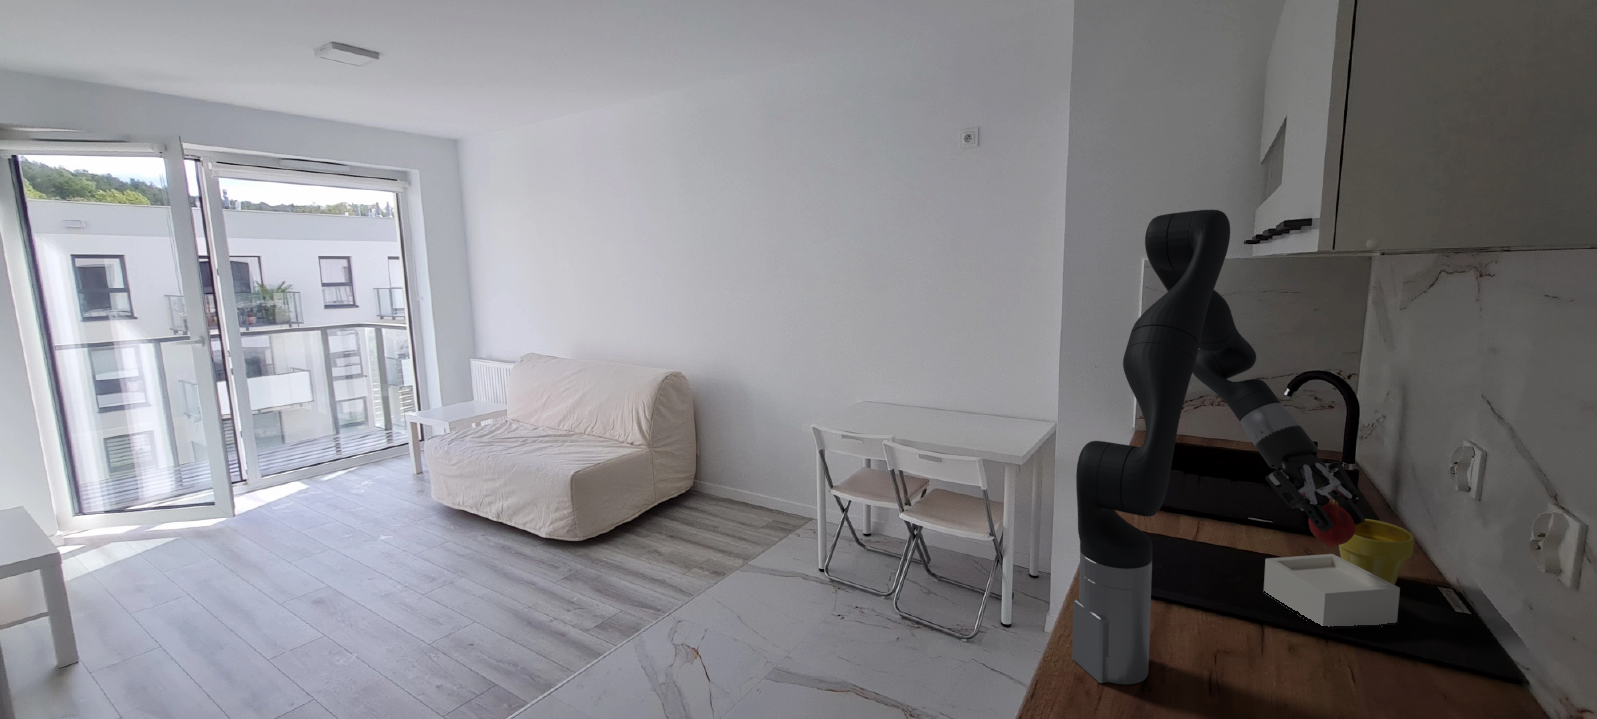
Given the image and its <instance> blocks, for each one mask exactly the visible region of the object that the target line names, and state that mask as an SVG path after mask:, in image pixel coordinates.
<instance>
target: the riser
mask: <svg viewBox="0 0 1597 719" xmlns="http://www.w3.org/2000/svg"><path fill="white" fill-rule="evenodd" d="M1264 563H1265V564H1264V581H1263V592H1264V591H1265V592H1266V593H1268V594H1269V595H1271V596H1272V597H1274V598H1275V599H1277V600H1279V601H1280V602H1282V603H1284V604H1285V605H1287V606H1288V607H1290V608H1292V609H1293V610H1295V611H1298V612H1299V613H1300V614H1301V615H1304V616H1305V617H1307V618H1308V619H1311V620H1312V621H1314V622H1315V623H1318V624H1320V625H1321V626H1328V627H1330V626H1332V627H1333V626H1354V625H1356V626H1357V625H1379V624H1380V625H1381V624H1387V623H1396V622H1397V623H1398V616H1399V615H1398V613H1399V606H1400V605H1399V602H1400V594H1401V593H1400V592H1401V591H1400V590H1401V587H1399V586H1397V585H1396V584H1395V585H1393V584H1391V583H1389V582H1387V581H1386V580H1384V579H1382V578H1380V577H1378V576H1376V575H1374V574H1372V573H1370V572H1368V571H1366V570H1364V569H1362V568H1360V567H1358V566H1356V565H1354V564H1352V563H1350V562H1348V561H1346V560H1344V559H1342V558H1341V556H1337V555H1336V554H1334V553H1326V554H1312V555H1299V556H1284V557H1271V558H1270V557H1268V558H1265V562H1264ZM1266 593H1265V594H1266ZM1269 595H1268V596H1269ZM1272 597H1271V598H1272ZM1275 599H1274V600H1275Z"/></svg>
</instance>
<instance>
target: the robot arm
mask: <svg viewBox="0 0 1597 719" xmlns="http://www.w3.org/2000/svg"><path fill="white" fill-rule="evenodd" d="M1230 224H1231V223H1230V220H1229V217H1228V216H1227V214H1226V213H1225V212H1223V211H1222V210H1220V209H1199V210H1198V209H1197V210H1188V211H1181V212H1172V213H1166V214H1161V215H1156V216H1155V217H1154V218H1152V219H1151V220H1150V221H1149V223H1148V225H1147V227H1146V231H1145V235H1144V236H1145V238H1144V245H1145V246H1144V248H1145V253H1146V256H1147V260H1148V261H1149V264H1150V266H1151V268H1152V269H1153V271H1154V272H1155V273H1156V274H1155V275H1157V277H1158V278H1159V280H1160V282H1161V284H1162V285H1163V287H1164V288H1165V289H1166V291H1167V292H1166V293H1164V295H1162V296H1161V297H1160V298H1159V299H1158V300H1156V301H1155V302H1153V304H1152V305H1150V306H1149V307H1148V308H1147V309H1146V310H1145V311H1144V312H1143V313H1142V314H1141V315H1140V317H1138V319H1137V320H1136V321H1135V323H1134V324H1133V326H1132V328H1131V331H1130V335H1129V338H1128V342H1127V346H1126V348H1125V351H1124V356H1123V360H1122V367H1123V372H1124V375H1125V378H1126V380H1127V383H1128V385H1129V387H1130V390H1131V391H1132V394H1133V395H1134V397H1135V399H1136V401H1137V403H1138V405H1139V407H1140V411H1141V413H1142V416H1143V420H1144V424H1145V436H1144V441H1143V444H1141V446H1135V445H1129V444H1122V443H1117V442H1111V441H1110V442H1109V441H1105V440H1104V441H1102V440H1092V441H1089V442H1088V443H1086V444H1085V445H1084V446H1083V447H1082V449H1081V451H1080V453H1079V455H1078V459H1077V460H1078V461H1077V464H1076V476H1075V481H1076V482H1075V483H1076V484H1075V485H1076V502H1077V504H1076V506H1077V533H1078V537H1079V581H1078V582H1079V585H1078V587H1079V590H1078V592H1079V593H1078V596H1079V597H1078V598H1076V599H1073V602H1072V603H1073V604H1072V656H1071V658H1072V660H1073V661H1074V662H1075V663H1076V664H1078V666H1080V668H1082V669H1083V670H1084V671H1086V672H1087V674H1088V675H1090V676H1091V677H1092V678H1093V679H1095V680H1096V681H1097V682H1098V683H1099V684H1104V683H1112V684H1117V685H1135V684H1138V683H1139V684H1140V683H1142V682H1143V681H1144V680H1146V679H1147V677H1148V675H1149V661H1150V660H1149V659H1150V636H1151V635H1150V634H1151V632H1150V630H1151V603H1152V601H1151V600H1152V598H1151V597H1152V596H1151V595H1152V575H1153V574H1152V571H1153V543H1152V540H1151V539H1150V537H1149V536H1148V535H1147V534H1146V533H1145V532H1144V531H1143V530H1140V529H1139V528H1137V527H1136V526H1134V525H1133V524H1131V523H1129V521H1127V520H1125V518H1123V517H1122V516H1121V515H1120V514H1119V513H1118V512H1122V513H1126V514H1131V515H1136V516H1138V517H1139V516H1140V517H1147V518H1149V517H1153V516H1155V515H1156V514H1157V513H1158V512H1159V511H1160V510H1161V508H1162V505H1163V504H1164V501H1165V499H1166V496H1167V491H1168V486H1169V481H1170V475H1171V472H1172V471H1171V470H1172V464H1173V458H1174V454H1175V447H1176V442H1177V435H1178V428H1179V424H1180V419H1181V416H1182V410H1183V407H1184V403H1185V400H1186V399H1185V398H1186V395H1187V392H1188V389H1189V385H1190V382H1191V378H1192V375H1194V376H1195V378H1196V379H1197V380H1198V381H1200V382H1201V383H1202V384H1204V385H1205V386H1206V387H1208V389H1211V391H1213V392H1214V393H1215V394H1216V395H1217V396H1219V397H1220V398H1221V399H1222V400H1223V401H1224V402H1225V404H1226V405H1227V406H1228V407H1229V408H1230V410H1231V411H1232V413H1233V414H1234V416H1235V417H1236V418H1237V420H1238V421H1239V422H1240V424H1241V426H1242V428H1243V429H1244V430H1243V431H1244V432H1245V434H1246V435H1247V437H1248V439H1249V440H1250V441H1251V442H1252V444H1253V445H1254V446H1255V448H1256V450H1257V451H1258V453H1259V454H1260V455H1261V457H1262V458H1263V460H1264V461H1265V462H1266V464H1267V466H1268V467H1270V468H1271V469H1276V470H1274V471H1273V472H1271V473H1270V474H1268V475H1266V476H1265V481H1266V482H1267V483H1268V484H1269V485H1270V487H1271V488H1272V489H1273V490H1274V491H1275V492H1276V494H1277V495H1278V496H1279V497H1280V498H1281V499H1282V501H1283V502H1284V503H1285V504H1286V505H1287V507H1288V508H1290V509H1295V508H1297V509H1300V510H1301V511H1303V512H1305V513H1306V515H1307V516H1308V519H1309V518H1310V519H1311V521H1312V522H1313V523H1314V525H1315V526H1316V527H1317V528H1318V529H1319V530H1320V531H1327V530H1329V529H1331V528H1333V527H1334V524H1333V522H1332V521H1331V520H1330V518H1329V517H1328V515H1327V514H1326V513H1325V511H1324V510H1323V509H1322V507H1321V506H1322V505H1321V504H1318V501H1317V497H1316V495H1315V492H1317V493H1318V494H1320V495H1322V496H1326V497H1327V498H1328V499H1329V500H1331V499H1334V500H1336V501H1337V504H1338V505H1339V506H1340V507H1341V508H1343V509H1344V510H1346V511H1347V512H1348V513H1349V514H1350V516H1351V517H1352V519H1353V521H1354V523H1355V525H1358V524H1361V523H1363V522H1364V521H1365V519H1366V518H1365V517H1364V514H1363V513H1362V512H1361V511H1360V509H1359V508H1358V507H1357V505H1356V504H1355V503H1354V501H1353V499H1352V498H1353V496H1354V495H1356V494H1358V489H1357V487H1356V486H1355V484H1354V482H1353V481H1352V480H1351V477H1350V476H1349V474H1348V473H1347V471H1346V470H1345V468H1344V467H1343V465H1342V463H1341V462H1340V461H1338V460H1334V461H1332V462H1331V463H1325V462H1324V461H1323V460H1321V458H1319V457H1318V456H1317V450H1318V447H1317V445H1316V444H1315V443H1314V441H1313V440H1312V438H1311V437H1310V436H1309V435H1308V433H1307V432H1306V430H1305V429H1304V428H1303V427H1302V426H1301V424H1300V423H1299V422H1298V420H1297V419H1296V418H1295V417H1294V415H1293V414H1292V413H1291V412H1290V410H1288V409H1287V408H1286V406H1284V405H1283V404H1282V402H1281V401H1280V399H1279V397H1277V395H1276V394H1275V393H1274V392H1273V390H1272V389H1271V387H1270V386H1269V385H1268V384H1267V382H1265V381H1264V380H1262V379H1260V378H1250V379H1244V380H1240V381H1239V380H1238V381H1231V380H1229V379H1230V378H1233V377H1235V376H1237V375H1239V374H1242V373H1244V372H1247V371H1249V370H1251V368H1252V367H1254V366H1255V364H1256V361H1257V353H1256V350H1255V349H1254V347H1253V346H1252V345H1251V344H1250V342H1248V341H1247V340H1246V338H1244V337H1243V336H1242V334H1241V333H1240V332H1239V330H1238V329H1237V327H1236V323H1235V322H1234V317H1233V314H1232V310H1231V308H1230V306H1229V303H1228V302H1227V301H1226V299H1225V298H1224V297H1223V296H1222V295H1221V294H1220V293H1219V292H1218V291H1216V290H1215V287H1216V284H1217V282H1218V280H1219V279H1218V278H1219V277H1220V274H1221V270H1222V268H1223V266H1224V263H1225V262H1224V261H1225V260H1226V256H1227V253H1228V248H1229V246H1230V245H1229V244H1230V241H1231V239H1230V238H1231V225H1230ZM1328 483H1329V484H1328ZM1343 484H1344V486H1345V487H1346V488H1345V487H1344V486H1343ZM1334 491H1335V493H1334ZM1288 492H1289V493H1290V494H1291V496H1292V497H1293V498H1292V497H1291V496H1290V494H1288ZM1336 493H1337V494H1336Z"/></svg>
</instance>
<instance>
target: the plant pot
mask: <svg viewBox="0 0 1597 719" xmlns="http://www.w3.org/2000/svg"><path fill="white" fill-rule="evenodd" d="M1414 545H1415V536H1414V535H1413V534H1412V533H1411V532H1410V531H1409V530H1407V529H1405V528H1403V527H1401V526H1398V525H1395V524H1392V523H1388V522H1385V521H1382V520H1377V519H1376V520H1375V519H1369V518H1365V521H1364V522H1363V523H1361V524H1358V525H1355V533H1354V535H1353V537H1352V538H1351V539H1350V540H1349V541H1348V542H1346V543H1344V544H1341V545H1338V549H1339V555H1340V558H1342V559H1344V560H1346V561H1348V562H1350V563H1352V564H1354V565H1356V566H1358V567H1360V568H1362V569H1364V570H1366V571H1368V572H1370V573H1372V574H1374V575H1376V576H1378V577H1380V578H1382V579H1384V580H1386V581H1387V582H1389V583H1391V584H1393V585H1395V586H1396V584H1397V583H1396V582H1397V581H1398V578H1399V575H1400V574H1401V571H1402V569H1403V567H1404V564H1405V562H1406V560H1408V559H1410V558H1411V557H1412V556H1413V552H1414V548H1415V546H1414Z"/></svg>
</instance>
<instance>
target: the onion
mask: <svg viewBox="0 0 1597 719" xmlns="http://www.w3.org/2000/svg"><path fill="white" fill-rule="evenodd" d="M1320 506H1321V507H1322V509H1323V510H1324V511H1325V513H1326V514H1327V515H1328V517H1329V518H1330V520H1331V521H1332V522H1333V524H1334V527H1333V528H1331V529H1329V530H1327V531H1320V530H1319V529H1318V528H1317V527H1316V526H1315V525H1314V523H1313V522H1312V521H1311V519H1310V518H1309V517H1308V525H1309V526H1308V527H1309V530H1310V531H1311V534H1313V536H1314V537H1315V538H1316V539H1317V541H1319V542H1320V543H1322V544H1324V545H1325V546H1327V547H1329V548H1334V547H1336V546H1339V545H1341V544H1344V543H1346V542H1348V541H1349V540H1350V539H1351V538H1352V537H1353V535H1354V533H1355V523H1354V521H1353V519H1352V517H1351V516H1350V514H1349V513H1348V512H1347V511H1346V510H1344V509H1343V508H1341V507H1340V506H1339V505H1338V504H1337V501H1336V500H1334V499H1329V502H1328V503H1327V504H1325V505H1320Z"/></svg>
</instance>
